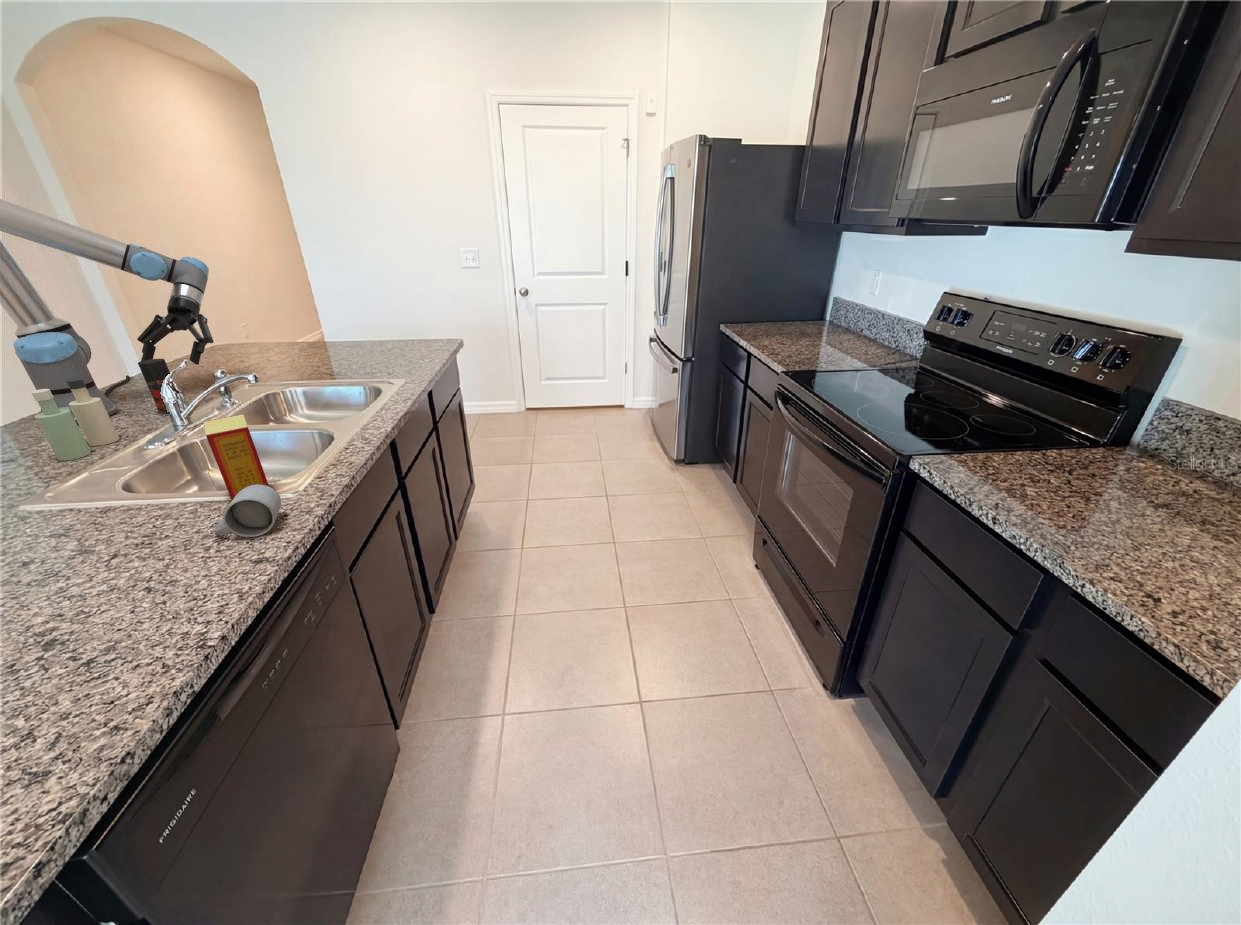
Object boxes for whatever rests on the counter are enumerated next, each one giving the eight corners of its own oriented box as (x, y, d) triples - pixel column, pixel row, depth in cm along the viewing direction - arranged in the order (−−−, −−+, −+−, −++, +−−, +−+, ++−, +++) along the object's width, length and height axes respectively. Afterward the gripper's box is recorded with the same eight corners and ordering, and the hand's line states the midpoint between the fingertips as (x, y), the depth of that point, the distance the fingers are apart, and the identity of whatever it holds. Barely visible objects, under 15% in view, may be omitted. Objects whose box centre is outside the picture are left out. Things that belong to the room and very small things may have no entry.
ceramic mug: (287, 510, 99) (274, 476, 96) (280, 532, 92) (266, 495, 89) (223, 523, 95) (207, 487, 92) (211, 546, 89) (193, 509, 85)
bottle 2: (96, 438, 132) (66, 377, 125) (124, 435, 134) (95, 375, 127) (84, 447, 127) (51, 384, 120) (112, 444, 129) (82, 381, 122)
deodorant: (188, 409, 153) (168, 360, 146) (164, 415, 148) (142, 364, 141) (179, 405, 155) (159, 357, 149) (155, 411, 151) (134, 362, 144)
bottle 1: (66, 452, 125) (32, 388, 117) (96, 449, 126) (63, 385, 119) (52, 462, 120) (15, 395, 112) (83, 458, 121) (48, 393, 114)
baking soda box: (231, 490, 107) (202, 419, 100) (267, 481, 110) (242, 412, 103) (235, 508, 100) (205, 434, 93) (273, 497, 104) (247, 425, 97)
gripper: (235, 309, 163) (222, 367, 156) (152, 311, 161) (136, 370, 154) (218, 295, 156) (204, 355, 149) (132, 296, 154) (114, 357, 147)
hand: (170, 363), depth 151 cm, fingers open, 13 cm apart
